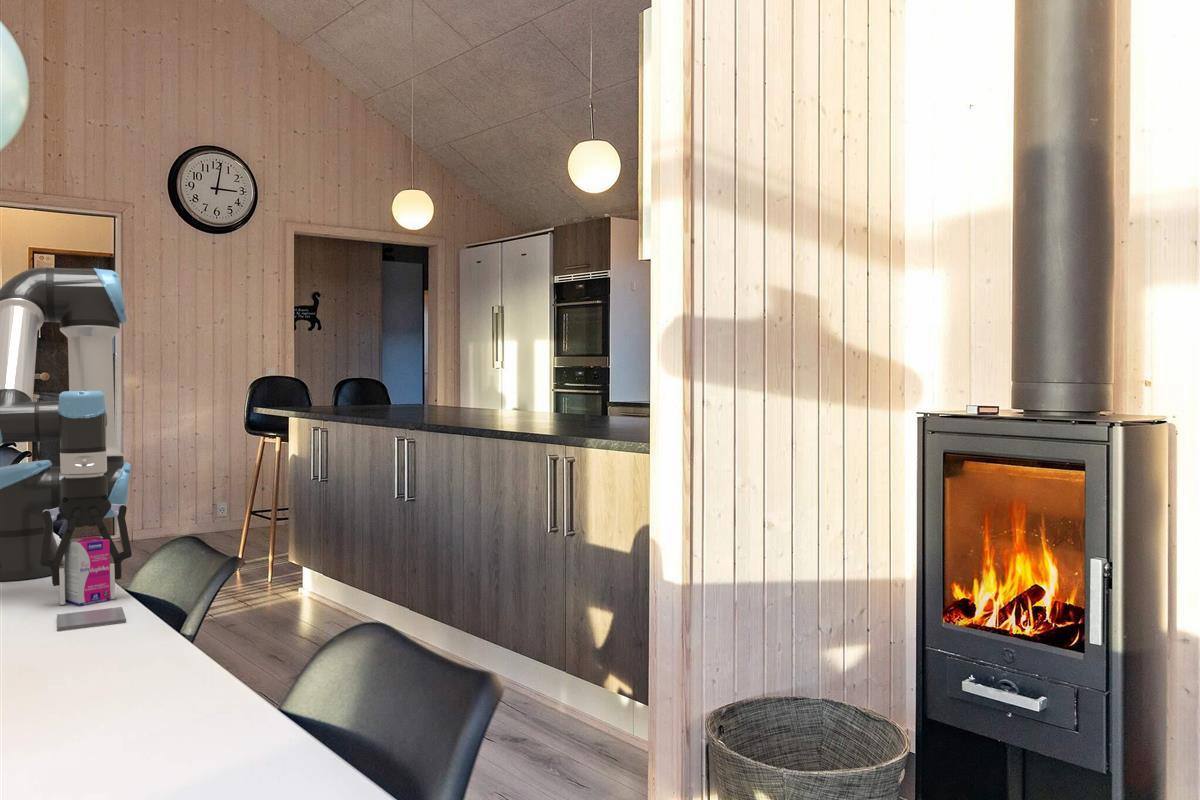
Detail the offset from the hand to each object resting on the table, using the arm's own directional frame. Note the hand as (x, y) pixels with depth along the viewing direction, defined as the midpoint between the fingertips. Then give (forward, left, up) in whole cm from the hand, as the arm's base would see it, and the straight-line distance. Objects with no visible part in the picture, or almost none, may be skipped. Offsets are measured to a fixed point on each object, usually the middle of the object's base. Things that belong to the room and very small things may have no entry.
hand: (87, 600), depth 179 cm
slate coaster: (+16, 0, 0) cm, 16 cm away
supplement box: (0, 0, -1) cm, 1 cm away
